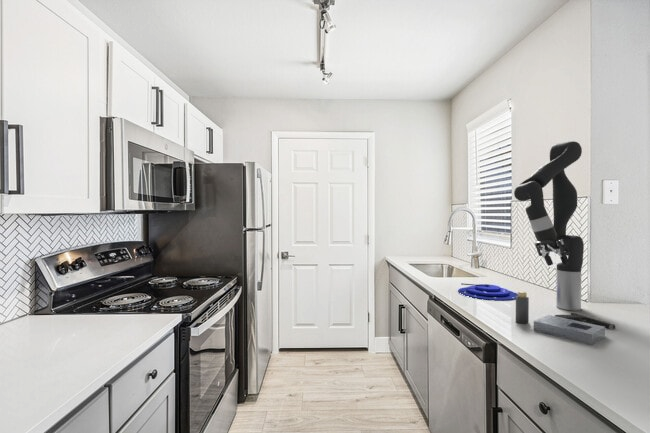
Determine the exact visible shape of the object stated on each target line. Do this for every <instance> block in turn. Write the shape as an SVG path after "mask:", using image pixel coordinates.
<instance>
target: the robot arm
mask: <svg viewBox="0 0 650 433" xmlns="http://www.w3.org/2000/svg"><path fill="white" fill-rule="evenodd" d="M582 149H583V148H582V146H581V144H580V143H579V142H577V141H573V140H572V141H565V142H560V143H555V144H552V146H551V147H550V148H549V161H548V162H546V163H545V164H543V165H542V166H540V167H538V169H536V170H535V171H534V172H533V173H532V174H531V175H530V177H528V178H527V179H525V180H523V181H522V182H521V183H519V184H518V185H516V187H515V189H514V192H513V194H514V197H515V199H516V200H518V201H520V202H527V201H530V205H528V206H526V207H525V213H526V215H527V217H528V220H529V223H530V227H531V229H532V232H533V234H534V236H535V239H536V241H537V242H534V245H535V248H536V252H537V254H538V256H539V257H542V258H544V261H545V263H546V265H547V266H552V265H554V262H553V260H552V257H551V255H550V253H554V254H556V255H558V257H559V258H560V262H558V263H557V264H556V298H555V299H556V308H558V309H561V310H565V311H575V312H576V311H581V310H582V268H583V263H584V249H585V248H584V246H585V244H584V240H583V238H582V237H581V236H579V235H573V234H572V235H571V234H569V235H567V225H568V223H569V221H570V219H571V218H572V216H573V215H574V213H575V212H576V209H577V207H578V192H577V189H576V187H575V186H574V184H573V183H572V182H571V181H570V179H569V178H568V177H567V175H566V173H565V172H566V171H565V170H566V169H567V168H568V167H570V166H571V165H572V164H574V163H576V162H577V161H578V160H579V159H580V158H581V156H582V152H583V150H582ZM550 182H552V208H553V222H552V219H551V218H550V216H549V214H548V212H547V210H546V207H545V200H544V199H545V198H544V191H543V188H545V187H546V186H547V185H548V184H549V183H550Z"/></svg>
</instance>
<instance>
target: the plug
mask: <svg viewBox="0 0 650 433" xmlns="http://www.w3.org/2000/svg"><path fill="white" fill-rule="evenodd" d="M517 294H518V296H516V300H515V323H517V324H520V325H529V321H530V320H529V314H530V313H529V311H530V310H529V306H530V303H529V301H530V300H529V297H528V296H527V292H526V291H521V290H520V291H517Z"/></svg>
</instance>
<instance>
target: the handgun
mask: <svg viewBox="0 0 650 433" xmlns="http://www.w3.org/2000/svg"><path fill="white" fill-rule="evenodd" d="M554 316H556V317H561V318H566V319H571V320H575V321H580V322H585V323H590V324H594V325H599V326H604V327H605V330H606V329H607V330H614V329H615V328H616V325H615V323H612V322H610V321H606V320H602V319H599V318H595V317H593V316H592V317H591V316H588V315H585V314H581V313H580V312H579V313H578V312H571V313H570V314H554Z"/></svg>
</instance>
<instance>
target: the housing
mask: <svg viewBox="0 0 650 433" xmlns="http://www.w3.org/2000/svg"><path fill="white" fill-rule="evenodd" d="M533 331H535V332H538V333H541V334H542V333H543V334H546V335H550V336H555V337H559V338H563V339H565V340H571V341H574V342H577V343H578V342H579V343H582V344H586V345H591V346H593V345H595V344H596V343H598V342H599V341H600V340H602V339H604V338H605V337H606V328H605V327H604V326H599V325H594V324H590V323H585V322H580V321H575V320H571V319H566V318H561V317H556V316H555V315H552V314H547V315H545V316H542V317H540V318H538V319H535V320H533Z"/></svg>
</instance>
